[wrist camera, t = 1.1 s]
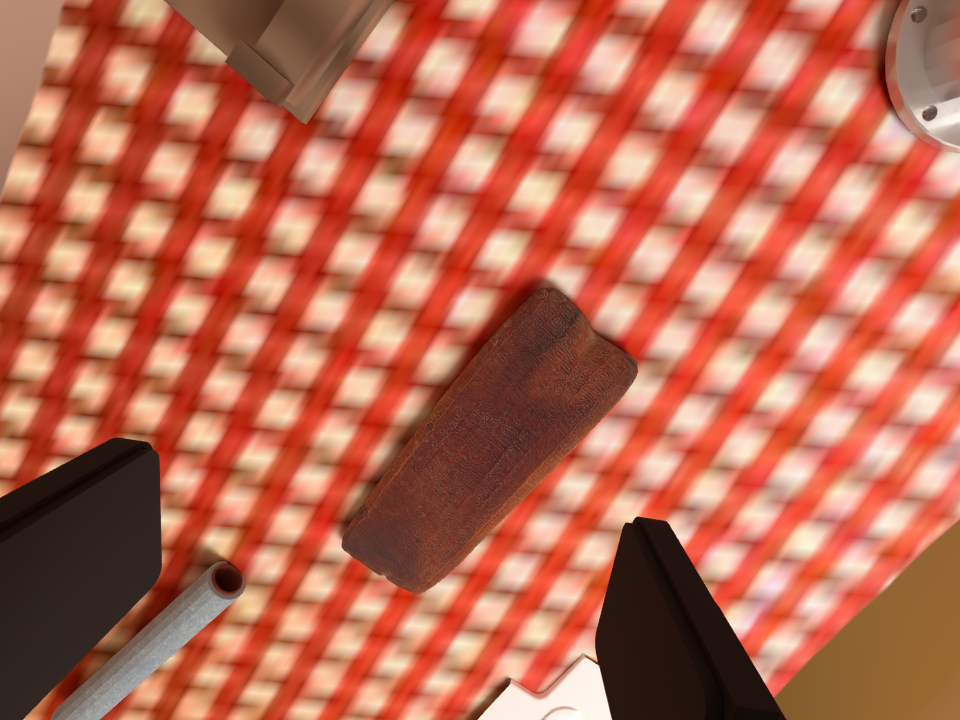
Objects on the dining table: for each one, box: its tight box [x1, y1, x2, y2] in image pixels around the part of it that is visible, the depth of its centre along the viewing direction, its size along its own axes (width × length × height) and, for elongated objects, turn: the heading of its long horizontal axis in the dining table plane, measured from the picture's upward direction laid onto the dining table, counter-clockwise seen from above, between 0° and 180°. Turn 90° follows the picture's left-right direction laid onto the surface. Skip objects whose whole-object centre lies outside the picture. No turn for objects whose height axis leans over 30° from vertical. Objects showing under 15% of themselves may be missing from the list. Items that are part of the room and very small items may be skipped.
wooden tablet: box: [342, 288, 638, 594], centre depth 36 cm, size 27×10×2 cm, turn 141°
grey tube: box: [51, 561, 246, 720], centre depth 41 cm, size 23×7×3 cm, turn 133°
